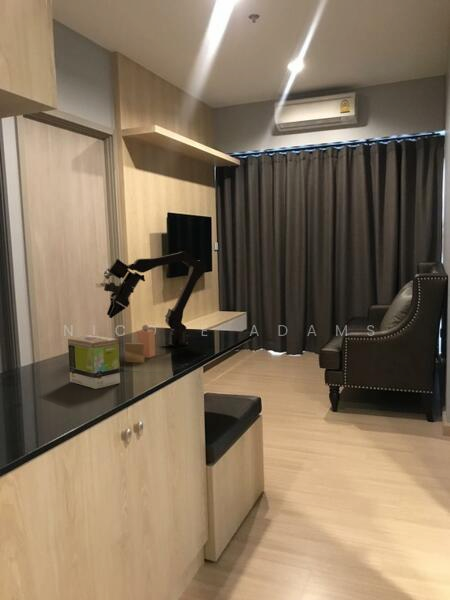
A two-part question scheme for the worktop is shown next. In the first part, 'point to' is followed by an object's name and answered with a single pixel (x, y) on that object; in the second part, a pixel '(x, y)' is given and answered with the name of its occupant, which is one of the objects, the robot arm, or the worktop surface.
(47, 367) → the worktop surface
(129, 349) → the track
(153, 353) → the slider
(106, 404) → the worktop surface
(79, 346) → the tea box
